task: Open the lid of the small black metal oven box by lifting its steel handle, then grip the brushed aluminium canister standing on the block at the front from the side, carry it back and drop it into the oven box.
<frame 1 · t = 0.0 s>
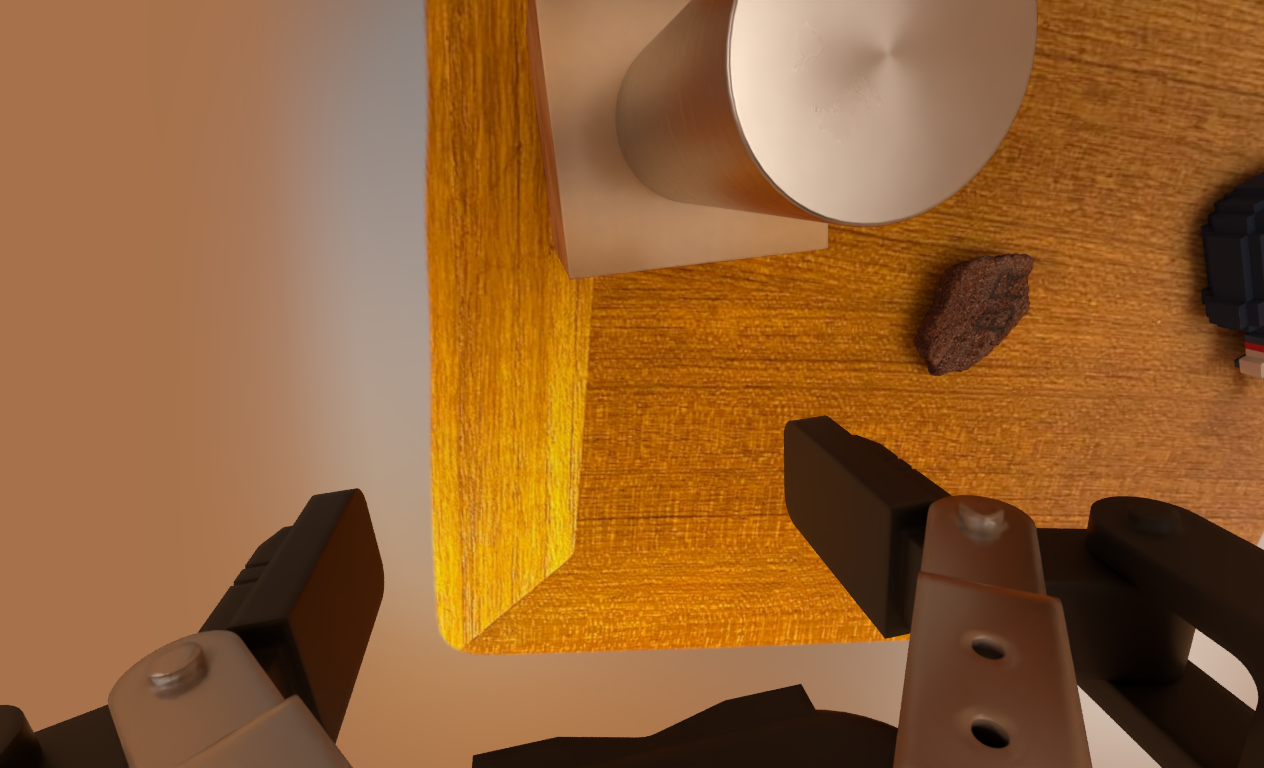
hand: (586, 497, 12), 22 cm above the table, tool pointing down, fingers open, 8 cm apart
stone: (951, 308, 37), on the table
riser: (641, 137, 31), on the table
figurine: (1245, 282, 40), on the table
canister: (695, 119, 22), point 10 cm above the table, touching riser
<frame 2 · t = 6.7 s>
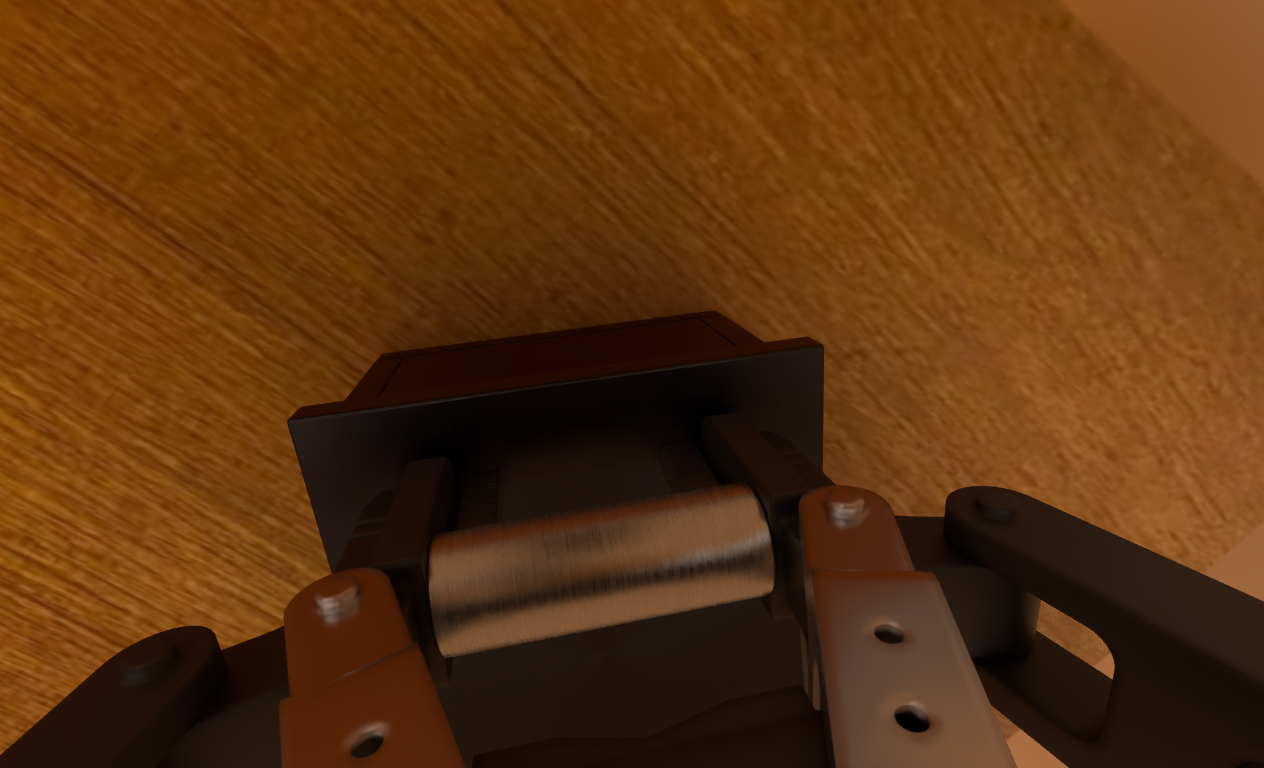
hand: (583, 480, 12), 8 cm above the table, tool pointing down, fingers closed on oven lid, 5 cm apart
oven lid: (617, 713, 13), point 9 cm above the table, hinge at 0.0°, touching gripper
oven: (578, 505, 22), on the table
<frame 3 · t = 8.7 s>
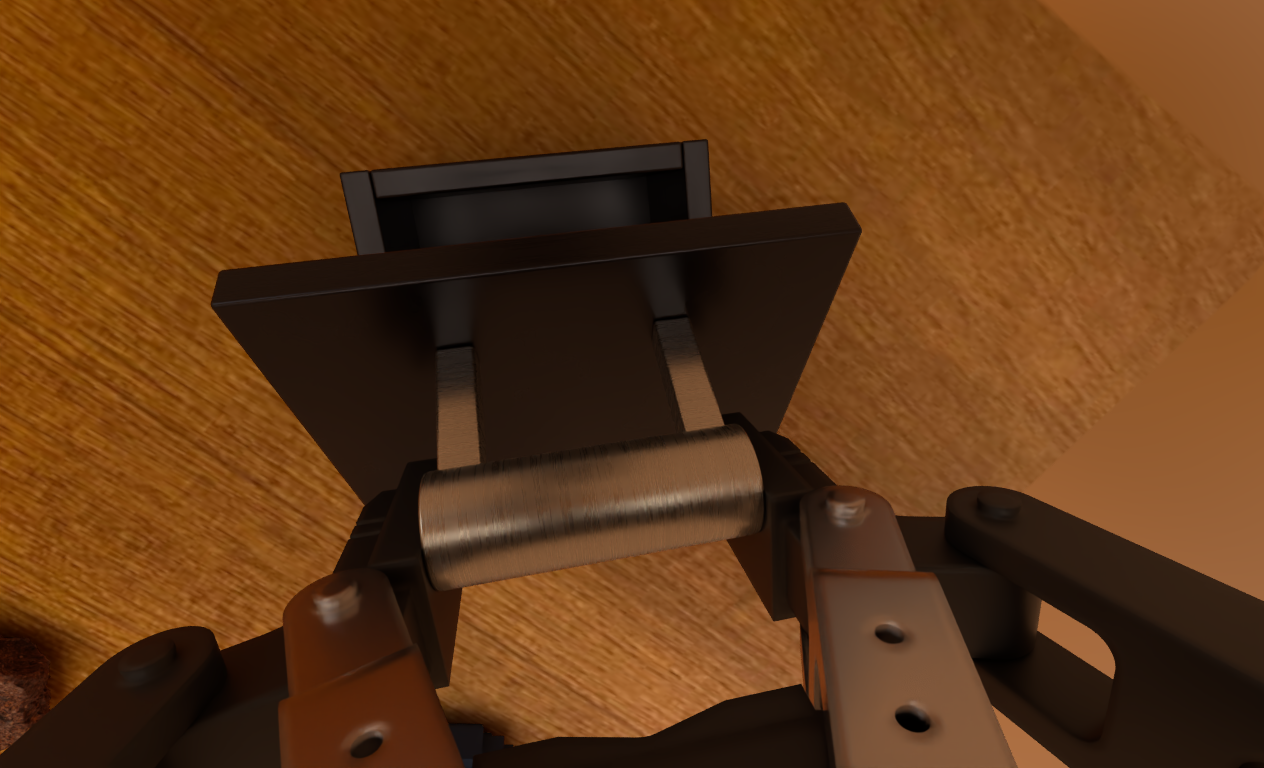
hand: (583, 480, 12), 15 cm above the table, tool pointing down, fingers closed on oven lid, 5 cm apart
oven lid: (587, 525, 15), point 13 cm above the table, hinge at 37.9°, touching gripper
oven: (550, 324, 26), on the table
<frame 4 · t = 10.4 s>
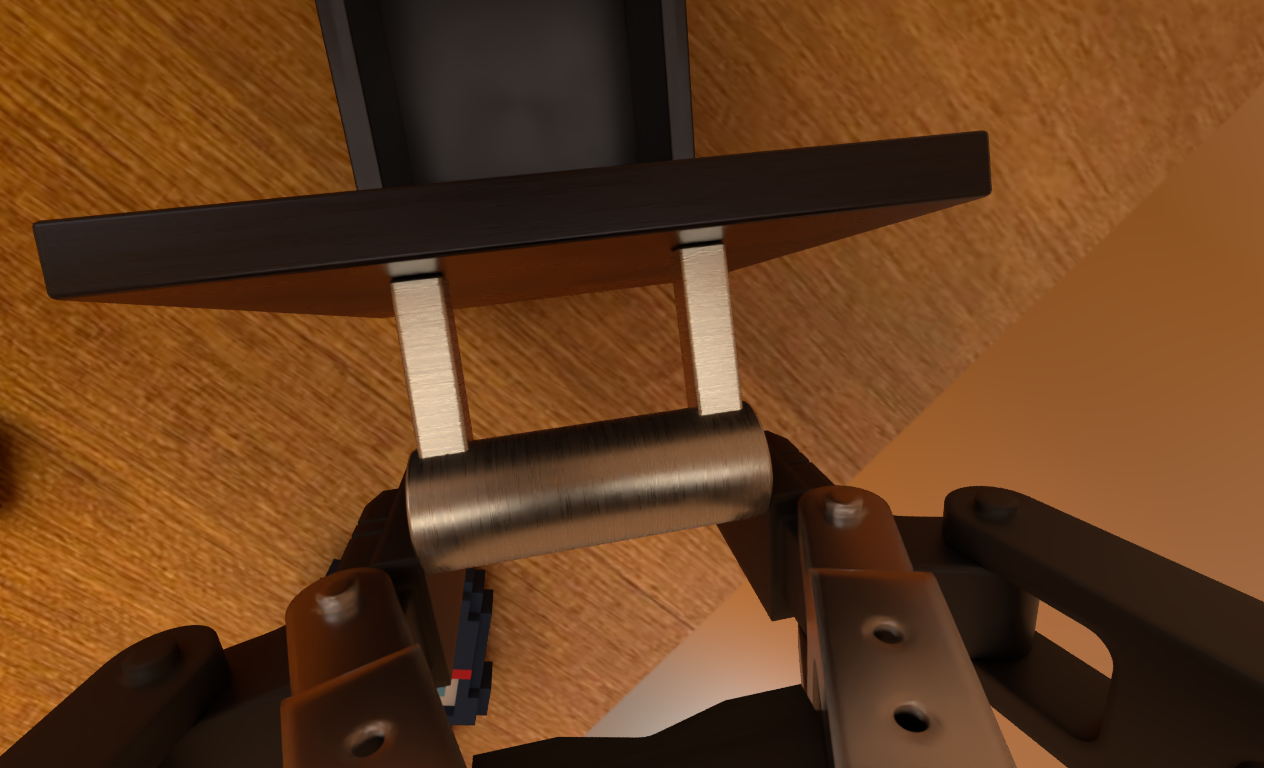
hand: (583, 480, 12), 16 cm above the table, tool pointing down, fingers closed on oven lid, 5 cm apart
oven lid: (565, 360, 14), point 14 cm above the table, hinge at 78.1°, touching gripper
figurine: (403, 659, 32), on the table
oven: (519, 104, 25), on the table
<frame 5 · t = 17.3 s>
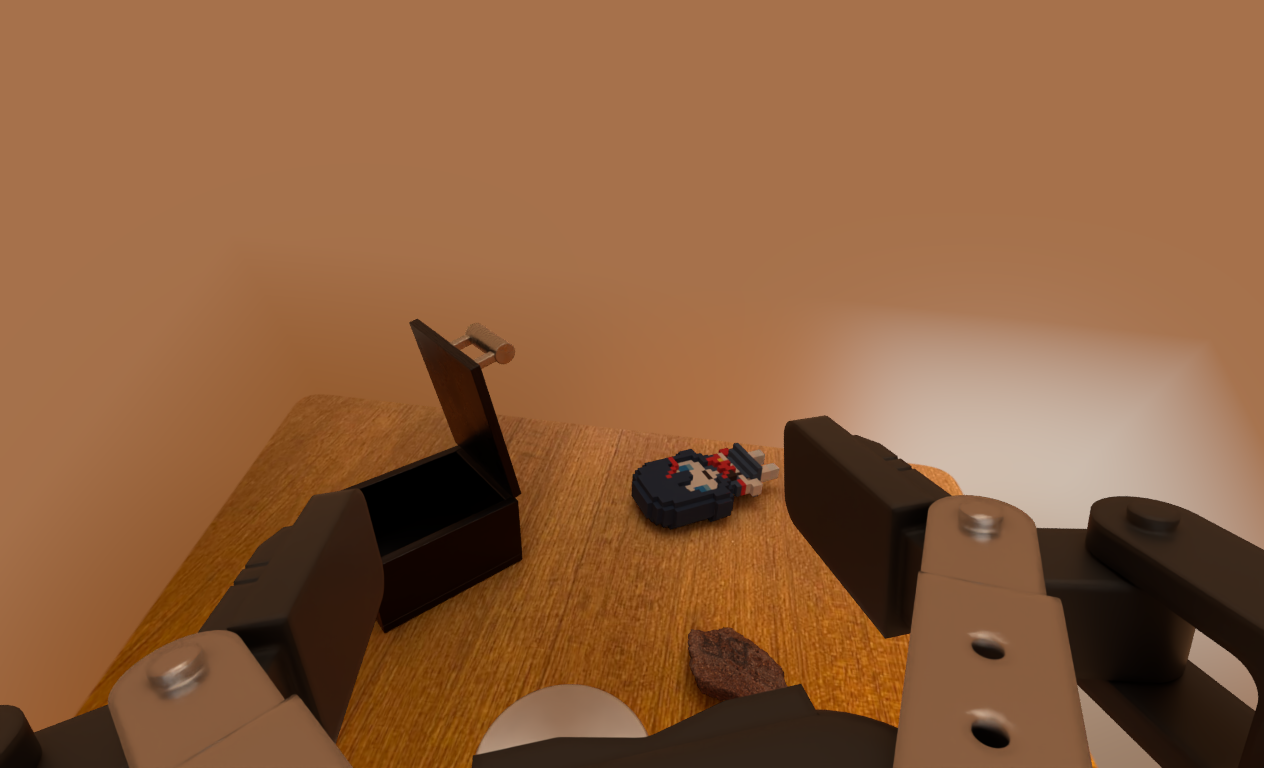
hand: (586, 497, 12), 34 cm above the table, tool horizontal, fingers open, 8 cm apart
stone: (733, 684, 46), on the table
oven lid: (487, 397, 53), point 14 cm above the table, hinge at 78.8°
figurine: (704, 499, 64), on the table
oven: (430, 558, 56), on the table
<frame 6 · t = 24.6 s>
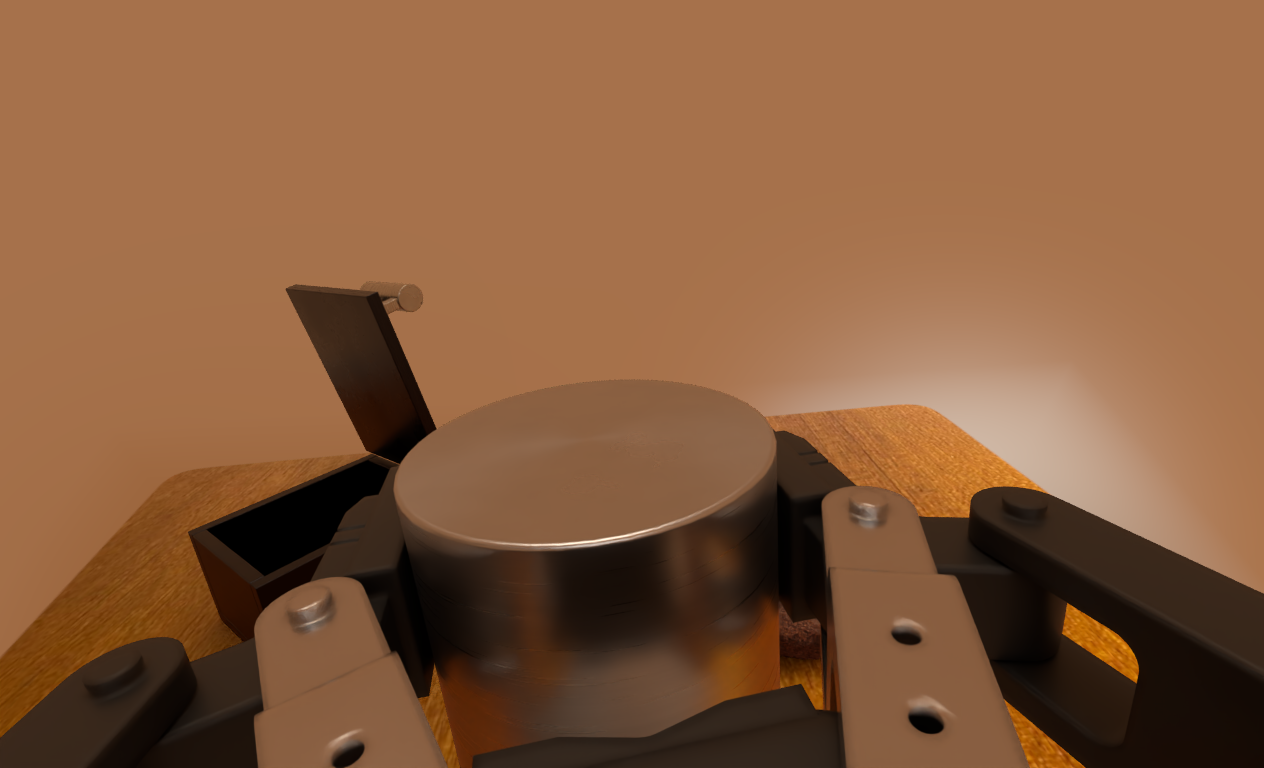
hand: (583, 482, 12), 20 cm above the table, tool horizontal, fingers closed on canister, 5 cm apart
stone: (769, 639, 35), on the table
oven lid: (397, 368, 43), point 14 cm above the table, hinge at 78.8°
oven: (350, 594, 43), on the table
when the fingers open (15 cm above the table, at t = 37.1 s): canister drops 4 cm, resting on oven.
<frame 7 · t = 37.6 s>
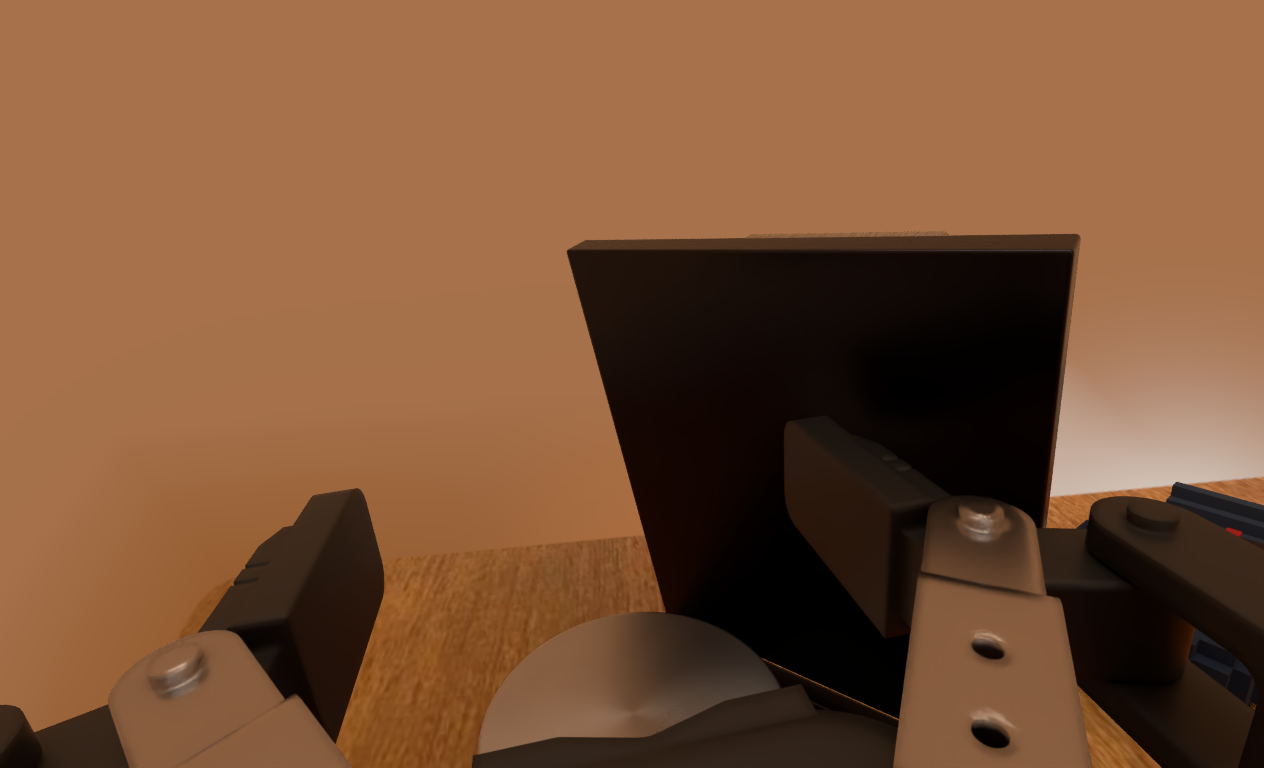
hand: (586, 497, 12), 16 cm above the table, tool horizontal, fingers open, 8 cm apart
oven lid: (826, 451, 17), point 14 cm above the table, hinge at 78.8°
figurine: (1182, 618, 29), on the table
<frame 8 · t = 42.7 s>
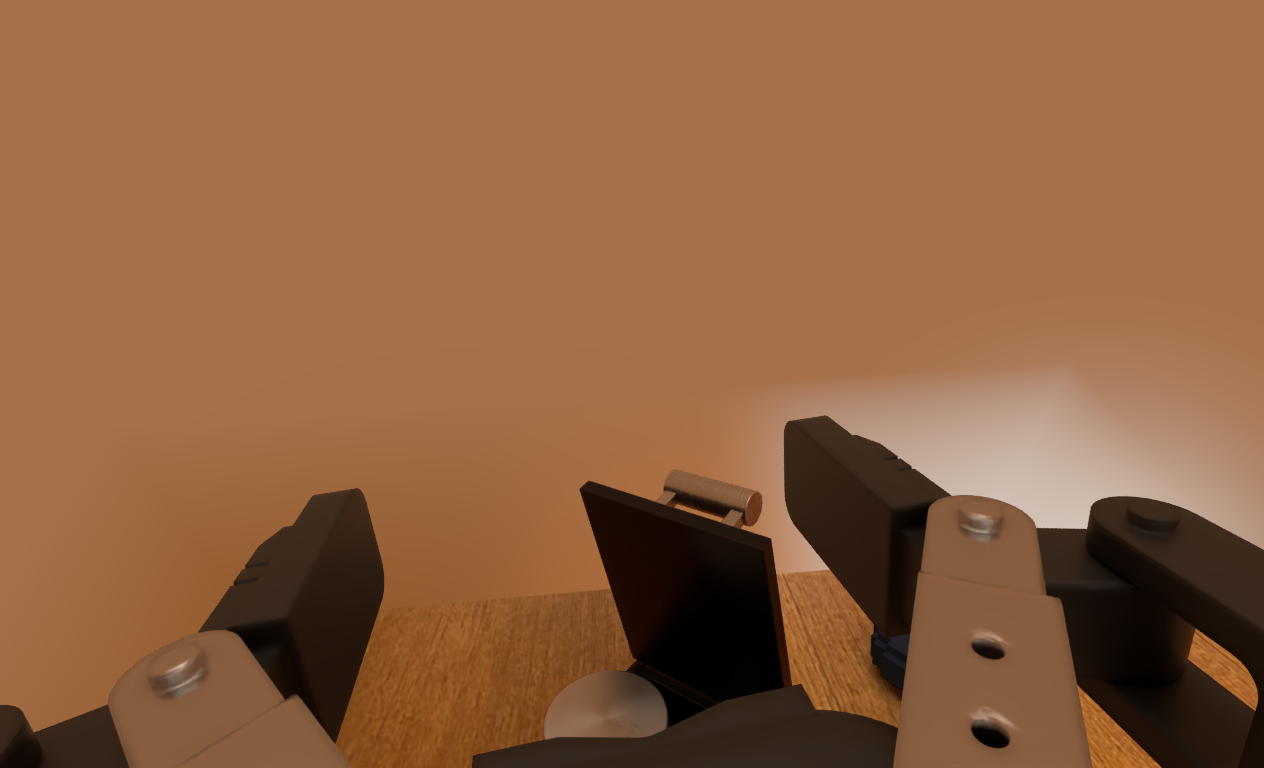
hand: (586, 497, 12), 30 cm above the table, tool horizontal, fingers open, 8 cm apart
oven lid: (709, 581, 34), point 14 cm above the table, hinge at 78.8°
figurine: (964, 654, 46), on the table
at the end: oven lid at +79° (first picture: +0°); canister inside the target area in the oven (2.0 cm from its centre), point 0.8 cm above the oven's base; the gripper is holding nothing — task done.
